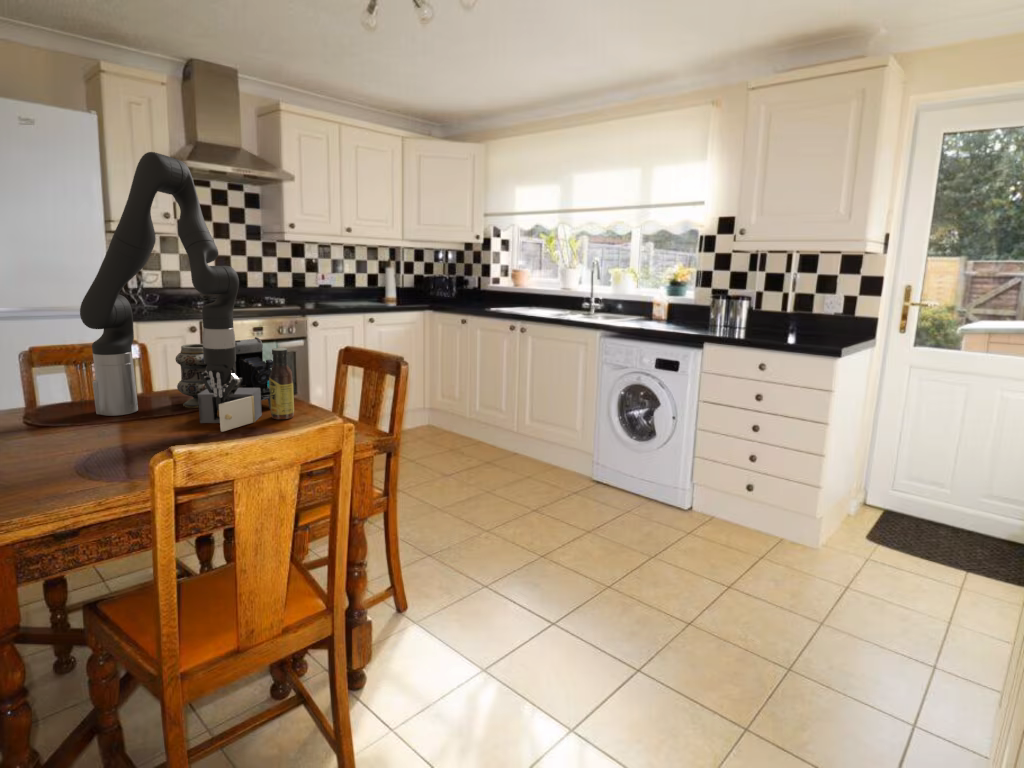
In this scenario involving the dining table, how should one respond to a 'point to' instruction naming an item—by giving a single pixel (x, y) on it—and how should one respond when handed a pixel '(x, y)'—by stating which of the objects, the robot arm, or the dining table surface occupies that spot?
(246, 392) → the case
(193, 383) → the apothecary jar
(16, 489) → the dining table surface
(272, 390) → the sauce bottle
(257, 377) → the vintage camera
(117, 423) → the dining table surface
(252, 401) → the door
